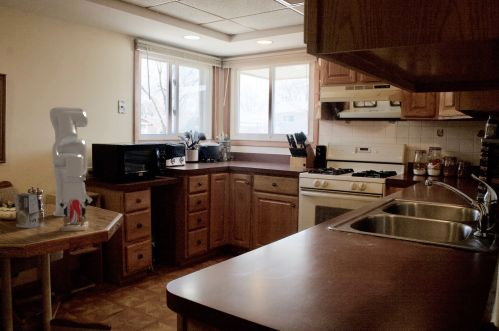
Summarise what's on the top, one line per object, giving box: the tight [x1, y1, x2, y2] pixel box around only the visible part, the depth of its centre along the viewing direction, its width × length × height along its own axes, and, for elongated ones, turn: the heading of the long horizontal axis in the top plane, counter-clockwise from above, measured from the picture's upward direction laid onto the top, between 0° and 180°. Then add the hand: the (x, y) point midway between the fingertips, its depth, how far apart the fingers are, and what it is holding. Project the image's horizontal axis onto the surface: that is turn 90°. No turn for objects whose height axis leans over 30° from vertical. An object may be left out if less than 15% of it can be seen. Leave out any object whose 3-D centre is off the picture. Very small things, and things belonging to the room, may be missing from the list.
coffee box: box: [14, 192, 40, 229], centre depth 207 cm, size 9×6×16 cm
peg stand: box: [60, 213, 89, 232], centre depth 205 cm, size 11×11×6 cm
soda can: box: [67, 199, 83, 224], centre depth 205 cm, size 7×7×12 cm
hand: (74, 215), depth 205 cm, fingers closed on soda can, 7 cm apart
